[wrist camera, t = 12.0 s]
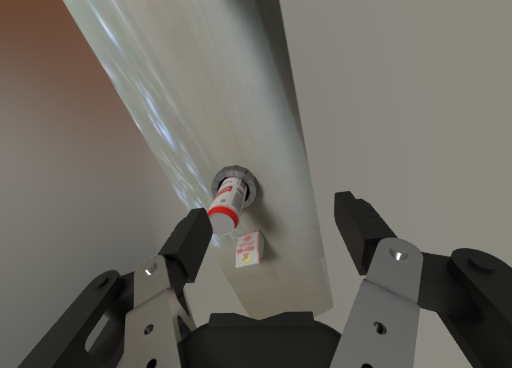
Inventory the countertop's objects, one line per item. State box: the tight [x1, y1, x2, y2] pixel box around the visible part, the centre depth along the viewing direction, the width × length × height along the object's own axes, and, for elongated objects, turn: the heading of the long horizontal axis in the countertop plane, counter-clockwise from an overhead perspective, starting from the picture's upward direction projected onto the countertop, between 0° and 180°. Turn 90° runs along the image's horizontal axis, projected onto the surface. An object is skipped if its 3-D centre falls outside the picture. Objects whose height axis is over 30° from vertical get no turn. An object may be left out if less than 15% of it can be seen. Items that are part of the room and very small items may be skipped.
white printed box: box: [236, 230, 264, 268], centre depth 51 cm, size 4×7×10 cm, turn 113°
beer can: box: [207, 176, 247, 236], centre depth 39 cm, size 6×6×16 cm
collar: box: [211, 165, 257, 209], centre depth 46 cm, size 11×11×3 cm
